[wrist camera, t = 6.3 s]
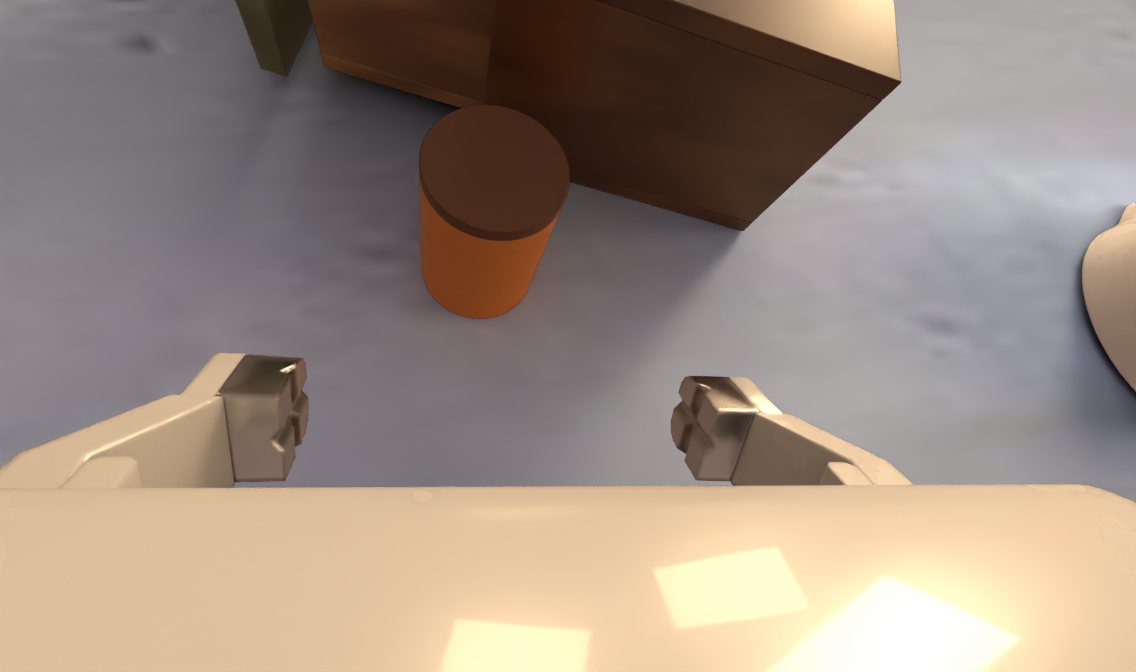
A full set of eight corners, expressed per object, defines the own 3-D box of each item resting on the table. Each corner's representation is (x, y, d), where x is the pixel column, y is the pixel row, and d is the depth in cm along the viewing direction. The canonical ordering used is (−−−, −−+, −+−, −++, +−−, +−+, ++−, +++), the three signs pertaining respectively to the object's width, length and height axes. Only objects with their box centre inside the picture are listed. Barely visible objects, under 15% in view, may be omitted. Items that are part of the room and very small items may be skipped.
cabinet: (476, 155, 27) (503, -60, 17) (526, -30, 32) (569, -280, 22) (743, 231, 29) (901, 82, 20) (750, 48, 34) (880, -144, 24)
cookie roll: (539, 236, 26) (580, 128, 19) (520, 330, 24) (557, 249, 17) (437, 209, 25) (439, 86, 18) (409, 304, 24) (400, 208, 16)
